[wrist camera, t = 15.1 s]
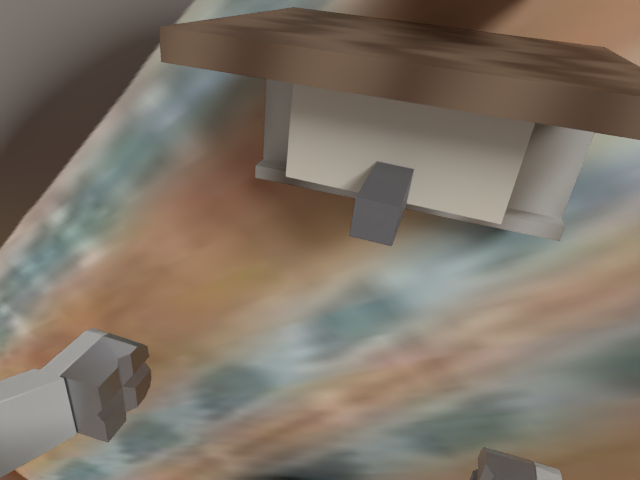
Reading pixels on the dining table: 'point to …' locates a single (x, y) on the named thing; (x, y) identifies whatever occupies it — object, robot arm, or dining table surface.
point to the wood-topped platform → (429, 89)
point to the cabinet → (404, 157)
